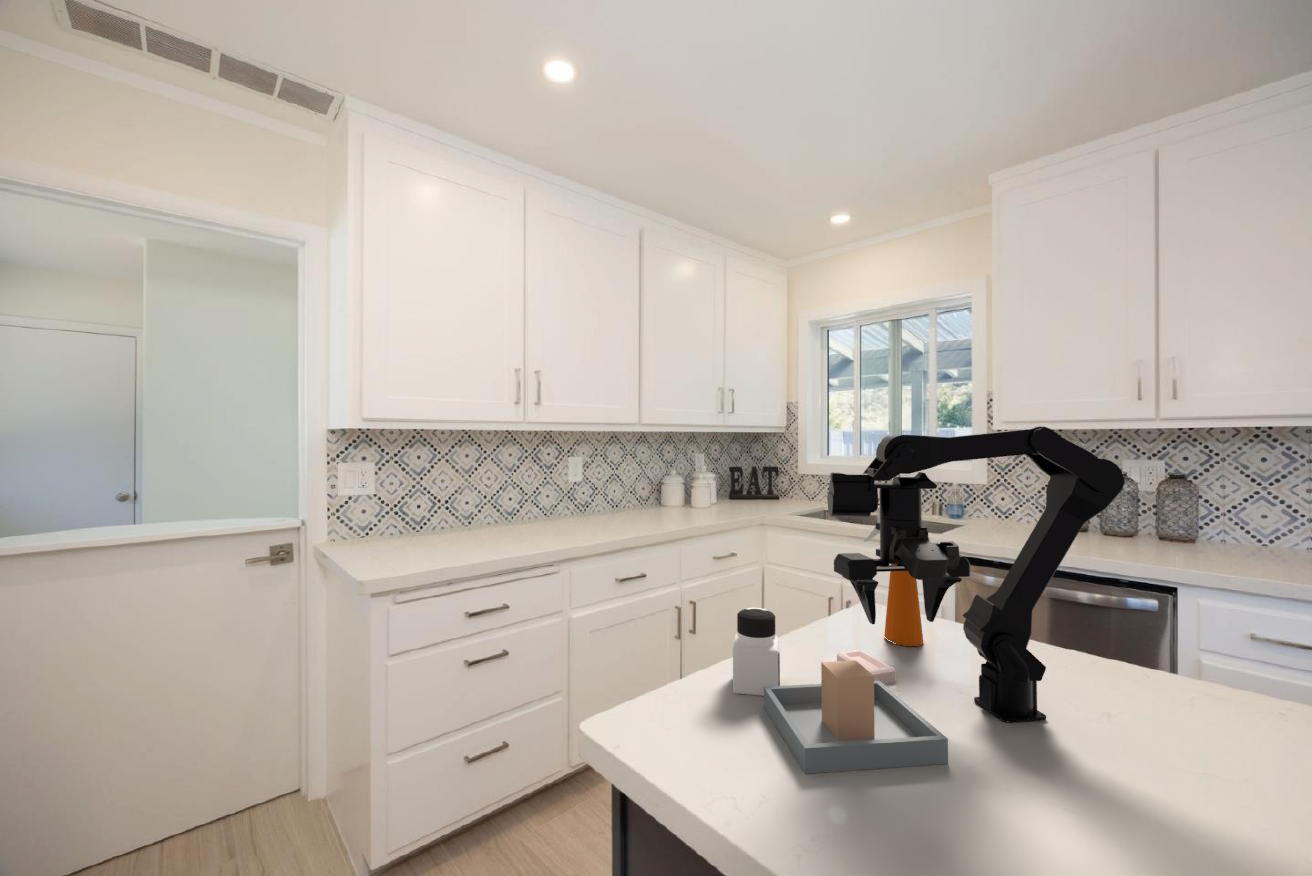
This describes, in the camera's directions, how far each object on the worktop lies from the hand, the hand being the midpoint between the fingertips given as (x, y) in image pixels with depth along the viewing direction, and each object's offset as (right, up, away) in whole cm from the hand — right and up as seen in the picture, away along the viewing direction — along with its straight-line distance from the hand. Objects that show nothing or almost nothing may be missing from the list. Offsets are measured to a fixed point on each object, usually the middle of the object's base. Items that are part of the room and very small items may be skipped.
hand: (901, 622), depth 80 cm
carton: (-11, -11, -8) cm, 18 cm away
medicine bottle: (-21, -12, +6) cm, 25 cm away
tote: (-11, -12, -8) cm, 18 cm away
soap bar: (-1, -13, +11) cm, 17 cm away
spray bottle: (+10, -12, +26) cm, 31 cm away
